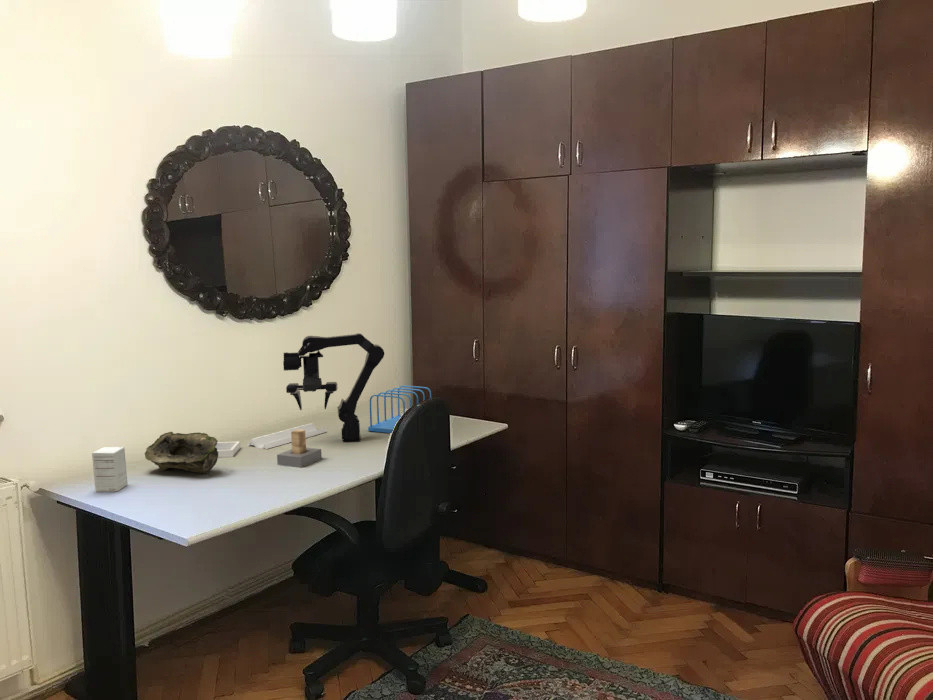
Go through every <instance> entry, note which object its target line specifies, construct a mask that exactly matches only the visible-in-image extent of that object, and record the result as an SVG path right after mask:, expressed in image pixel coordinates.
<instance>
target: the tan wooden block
mask: <svg viewBox="0 0 933 700" xmlns="http://www.w3.org/2000/svg"><path fill="white" fill-rule="evenodd" d="M291 438H292V442H291V449H292V454H302V453H305V452H306V448H307V442H306V439H307V438H306V436H305V430H299V429H298V430H295V431H292V432H291Z"/></svg>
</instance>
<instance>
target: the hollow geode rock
mask: <svg viewBox="0 0 933 700" xmlns="http://www.w3.org/2000/svg"><path fill="white" fill-rule="evenodd" d="M217 442H219V441H218V440H217V438H215V436H214V437H213V436H210V435H209V434H207V433H205V432H191V433H190V432H189V433H182V432H181V433H179V432H176V433H174V432H173V431H169V432H165V433H163V434H161V435H159V437H158V438H156V440H155V441H154V442H153V443H152V444H151V445H148V446H147V447H146V449H145V452H144V457H145V459H146V460H147V461H150V462H152V464H154V465H156V466H158V468H159V471H166V470H167V469H168V470H169V469H171V468H172V469H183V470H185V471H186V472H193V473H198V474H206V475H207V474H209V473H210V472H211V470H213V468H214V467H215V466H216V465H217V462H218V459H219V457H218V451H217V450H218V449H217V448H216V447H215V446H216V445H217Z"/></svg>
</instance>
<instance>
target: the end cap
mask: <svg viewBox="0 0 933 700" xmlns="http://www.w3.org/2000/svg"><path fill="white" fill-rule="evenodd" d="M322 455H323V454H322V448H314V447H306V452H305V453H302V454H292V448H291V449H289V450H285V451H283V452H281V453H278V454H276V460H277V461H276V462H277V465H278V466H287V467H296V468H303V467H305V466H308V465H310V464H312V463H314V462H317V461H320V460H322V458H323V457H322Z"/></svg>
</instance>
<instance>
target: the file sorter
mask: <svg viewBox="0 0 933 700" xmlns="http://www.w3.org/2000/svg"><path fill="white" fill-rule="evenodd" d="M421 389H426V390H427V391H428V393H429V399H430V398H431V399H432V391H431V389H430V388H429V387H426V386H418V385H417V386H416V385H401V386H399V387H394V388H393V389H389V390H386V391H385V392H379V393H378V394H372V395H371V396H370V397H369V423H370V426H368V427H367V431H369V432H376V433H386V434H387V433H389V434H393V433H392V431H393V429H394V426H395V424H396V422H397V421H398V420H399V418H400V417H401V415H402V414H400V413H401V412H400V400H401V401H402V406H403V408H402V409H403V410H402V411H403V414H404V413H405V414H406V409H405V408H406V406H405V405H406V403H405V400H404V399H403V397H402V396H406V397H407V398H408V399H409V408H410V407H412V403H413V402H412V398H411V396H410V395H409V394H414V395H415V397H416V404H417V403H418V404H419V396H418V394H417V393H416V392H417V391H418V392H421V393H422V398H423V399H422V400H423V401H424V400H425V401H426V397H425V395H426V394H425V393H424V391H423V390H421ZM415 391H416V392H415ZM407 393H408V394H407ZM373 397H376V414H377V415H376V416H377V419H376V420H377V423H375V424H373V418H372V399H373ZM379 397H383V401H384V403H383V404H384V405H383V407H384V409H383V410H384V420H383V421H380V414H379V412H380V411H379V409H380V408H379ZM386 398H390V411H391V412H390V414H391V417H390V418H387V408H386V407H387V405H386V404H387V403H386V402H387V399H386ZM393 398H394V399H396V398H397V415H395V416H394V410H393V409H394V407H393ZM412 408H413V407H412Z"/></svg>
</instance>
